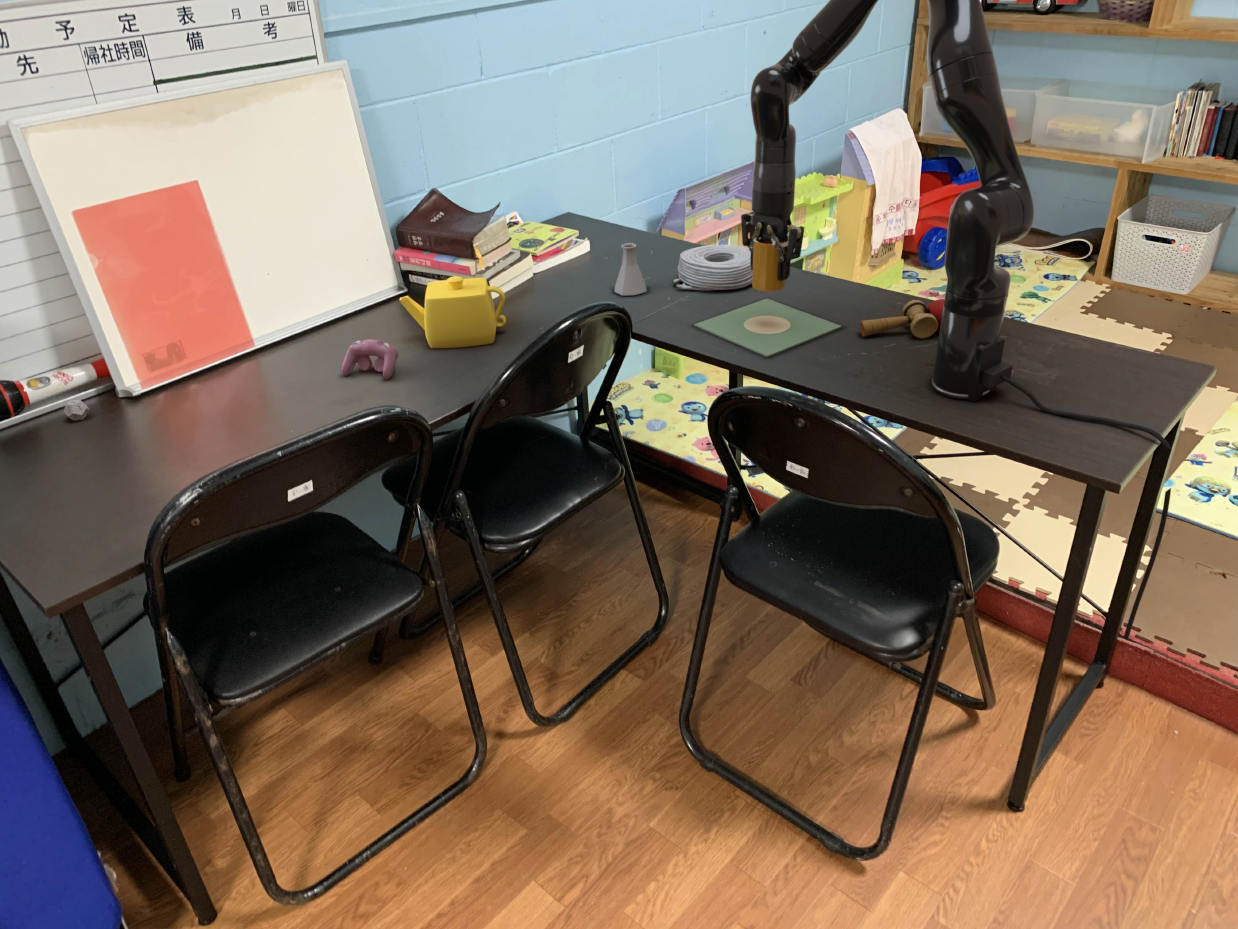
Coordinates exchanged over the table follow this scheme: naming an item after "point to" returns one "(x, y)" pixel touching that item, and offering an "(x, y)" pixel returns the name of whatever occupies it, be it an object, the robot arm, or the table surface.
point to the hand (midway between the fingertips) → (769, 274)
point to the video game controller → (361, 354)
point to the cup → (766, 267)
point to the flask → (630, 273)
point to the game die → (76, 410)
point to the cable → (714, 268)
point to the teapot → (458, 312)
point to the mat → (767, 327)
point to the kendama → (909, 319)
